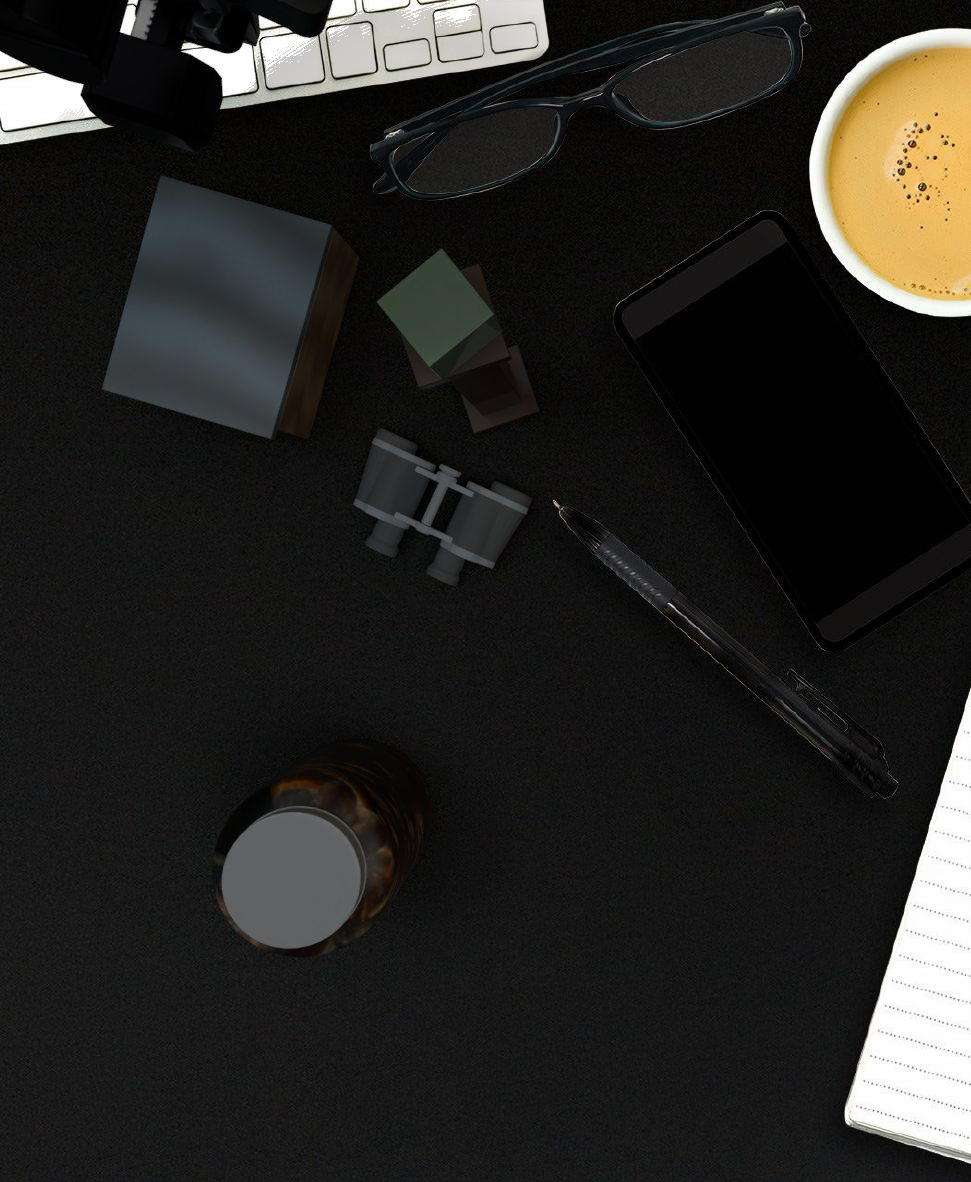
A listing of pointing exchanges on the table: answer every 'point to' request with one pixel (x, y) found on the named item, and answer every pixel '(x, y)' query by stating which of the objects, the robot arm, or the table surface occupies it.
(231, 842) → the jar
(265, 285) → the lid
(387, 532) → the binoculars
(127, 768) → the table surface
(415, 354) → the pillar
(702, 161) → the table surface
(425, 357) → the cube
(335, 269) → the box
